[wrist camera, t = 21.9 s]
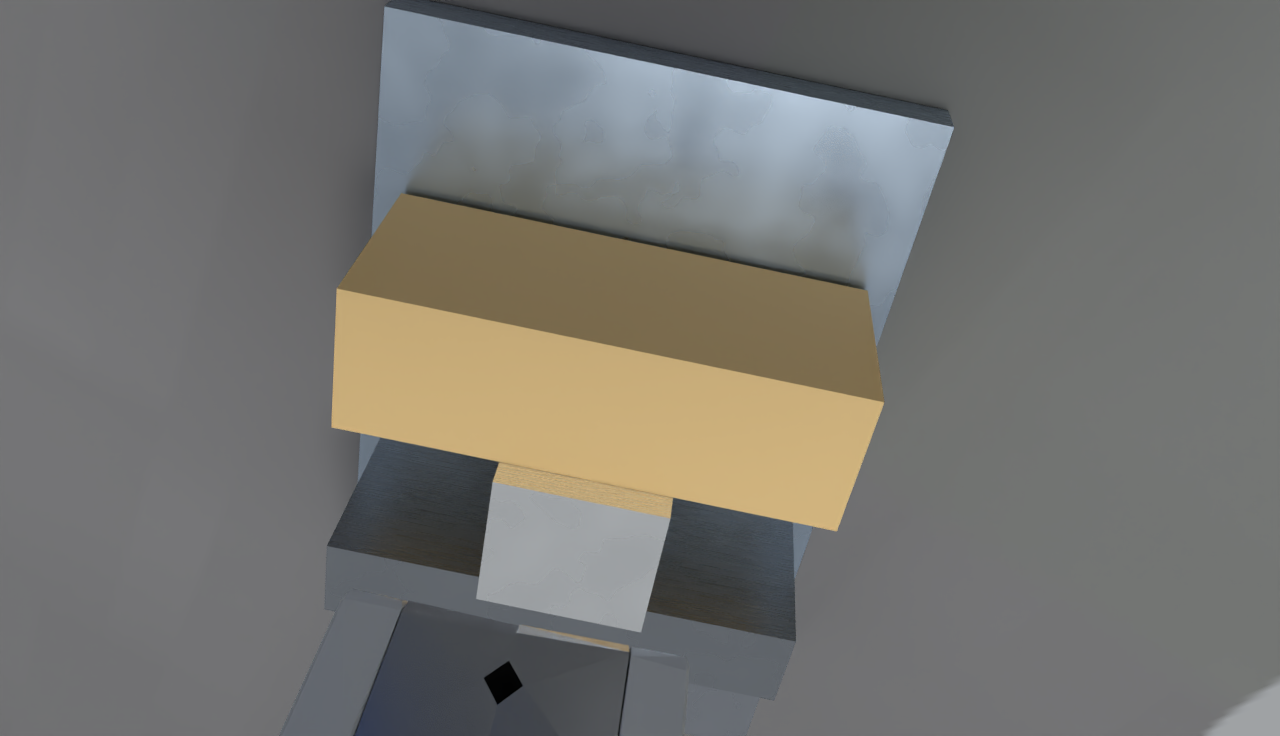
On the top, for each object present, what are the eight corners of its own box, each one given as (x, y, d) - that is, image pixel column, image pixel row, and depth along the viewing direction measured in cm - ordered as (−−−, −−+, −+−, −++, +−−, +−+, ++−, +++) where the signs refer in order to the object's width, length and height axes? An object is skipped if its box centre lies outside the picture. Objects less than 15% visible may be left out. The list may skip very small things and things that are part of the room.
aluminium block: (538, 344, 41) (492, 482, 34) (687, 375, 41) (670, 518, 34) (521, 452, 44) (475, 599, 37) (660, 481, 44) (640, 632, 37)
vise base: (397, -7, 36) (306, 79, 29) (947, 110, 36) (990, 224, 29) (362, 562, 50) (293, 715, 43) (762, 644, 50) (761, 809, 43)
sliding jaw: (401, 192, 38) (336, 288, 32) (867, 290, 38) (884, 402, 33) (392, 318, 41) (331, 427, 35) (827, 409, 41) (836, 531, 35)
